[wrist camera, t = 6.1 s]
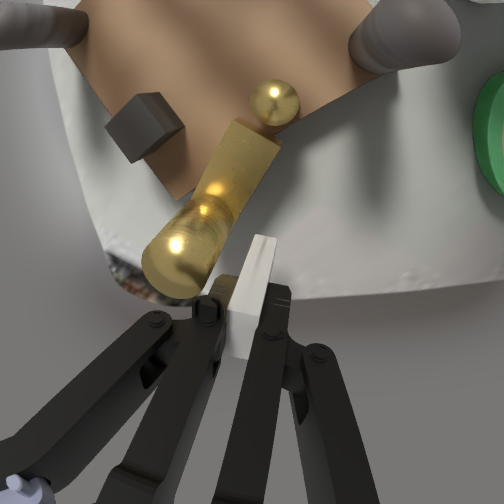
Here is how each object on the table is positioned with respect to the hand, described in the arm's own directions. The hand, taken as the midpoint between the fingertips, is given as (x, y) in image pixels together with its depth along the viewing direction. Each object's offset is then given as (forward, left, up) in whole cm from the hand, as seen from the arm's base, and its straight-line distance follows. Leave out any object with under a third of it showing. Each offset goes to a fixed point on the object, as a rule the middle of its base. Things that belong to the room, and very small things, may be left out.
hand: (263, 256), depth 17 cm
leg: (-1, -5, -3) cm, 6 cm away
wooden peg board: (-5, -14, -6) cm, 16 cm away
